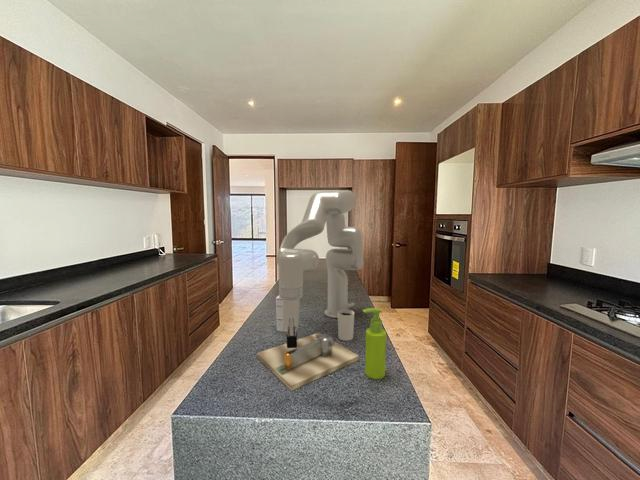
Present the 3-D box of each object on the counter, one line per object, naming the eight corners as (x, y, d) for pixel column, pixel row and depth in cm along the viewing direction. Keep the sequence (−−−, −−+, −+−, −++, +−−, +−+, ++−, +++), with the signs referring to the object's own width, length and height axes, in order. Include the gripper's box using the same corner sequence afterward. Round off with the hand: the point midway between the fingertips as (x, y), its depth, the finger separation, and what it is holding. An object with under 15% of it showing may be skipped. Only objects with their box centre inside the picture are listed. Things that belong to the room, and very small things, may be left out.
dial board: (318, 336, 107) (318, 332, 107) (358, 360, 89) (359, 355, 89) (257, 357, 91) (256, 352, 91) (291, 391, 74) (291, 385, 74)
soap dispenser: (359, 368, 85) (360, 306, 83) (381, 367, 85) (382, 305, 83) (364, 379, 79) (365, 313, 77) (387, 378, 79) (389, 312, 77)
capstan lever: (322, 345, 95) (322, 331, 95) (338, 354, 89) (338, 339, 89) (277, 365, 83) (277, 348, 83) (293, 376, 77) (293, 359, 77)
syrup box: (289, 332, 110) (289, 297, 109) (276, 331, 111) (275, 296, 110) (294, 326, 116) (293, 293, 114) (280, 325, 117) (280, 292, 116)
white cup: (335, 339, 104) (335, 314, 103) (339, 332, 110) (340, 308, 109) (352, 342, 102) (352, 316, 101) (356, 334, 108) (356, 310, 107)
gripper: (280, 285, 93) (281, 336, 95) (277, 299, 78) (279, 359, 80) (302, 284, 94) (302, 335, 96) (303, 298, 79) (304, 358, 81)
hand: (292, 346), depth 88 cm, fingers closed
